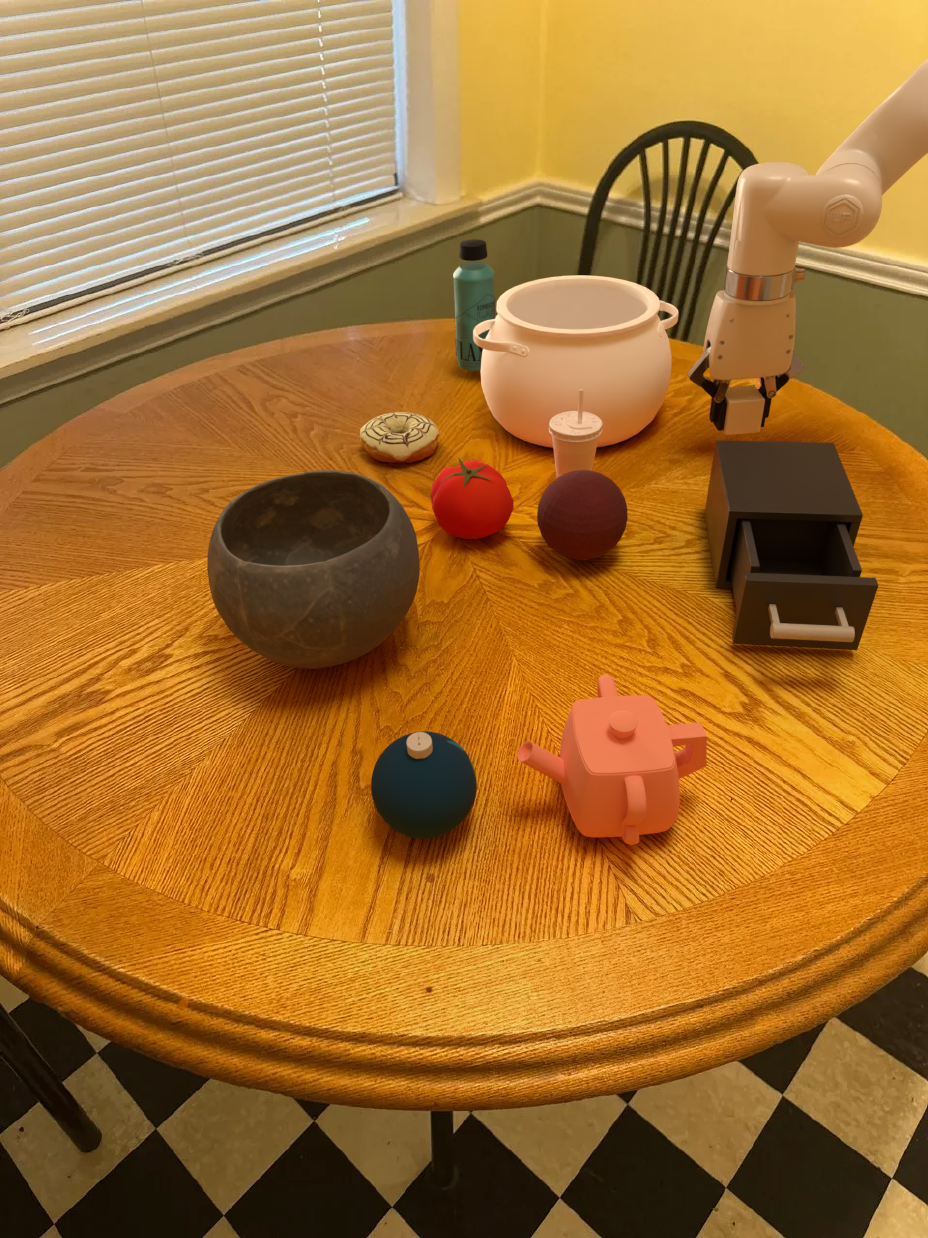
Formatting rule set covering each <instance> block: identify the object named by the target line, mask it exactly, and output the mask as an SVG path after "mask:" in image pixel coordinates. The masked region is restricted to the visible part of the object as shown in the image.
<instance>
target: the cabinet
mask: <svg viewBox="0 0 928 1238" xmlns="http://www.w3.org/2000/svg"><path fill="white" fill-rule="evenodd" d="M863 517H864V514H863V512H862V509H861V506H860V504H859V502H858V500H857V497H856V494H855V491H854V489H853V487H852V485H851V482H850V479H849V477H848V475H847V472H846V470H845V467H844V464H843V462H842V460H841V457H840V455H839V453H838V449H837V448H836V444H835V442H819V441H818V442H816V441H815V442H814V441H812V442H811V441H773V440H772V441H770V440H769V441H765V440H720V439H719V440H718V439H717V440H715V444H714V449H713V456H712V463H711V469H710V476H709V481H708V488H707V495H706V501H705V508H704V519H705V526H706V532H707V538H708V545H709V552H710V558H711V565H712V572H713V579H714V585H715V589H732V590H733V587H732V581H731V575H730V570H729V560H730V555H731V549H732V544H733V539H734V533H735V528H736V523H737V518H738V519H769V520H800V521H831V522H844V523H845V526H846V528H847V531H848V534H849V536H850V539H851V542H852V545H853V547H855V544H856V541H857V540H856V539H857V537H858V533H859V530H860V527H861V523H862V520H863Z"/></svg>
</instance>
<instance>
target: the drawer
mask: <svg viewBox="0 0 928 1238" xmlns="http://www.w3.org/2000/svg"><path fill="white" fill-rule="evenodd" d="M854 547H855V546H854ZM854 547H853V545H852V542H851V539H850V536H849V534H848V531H847V528H846V526H845V523H844V522H831V521H800V520H769V519H738V518H737V523H736V528H735V533H734V539H733V544H732V549H731V555H730V560H729V570H730V575H731V581H732V587H733V589H732V591H733V598H734V604H735V609H736V614H735V619H734V625H733V629H732V633H731V638H732V644H733V645H742V646H743V645H744V646H761V647H762V646H763V647H783V648H784V647H785V648H801V649H802V648H804V649H819V650H820V649H824V650H839V651H840V650H842V651H858V649H859V646H860V643H861V640H862V637H863V634H864V631H865V627H866V624H867V623H868V618H869V616H870V612H871V610H872V607H873V604H874V601H875V598H876V594H877V592H878V588H879V583H878V580H877V578H876V577H867V576H865V577H863V576H861V575H862V572H863V568H862V566H861V563H860V560H859V559H858V555H857V553H856V550H855V548H854Z"/></svg>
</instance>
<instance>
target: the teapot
mask: <svg viewBox="0 0 928 1238" xmlns="http://www.w3.org/2000/svg"><path fill="white" fill-rule="evenodd" d="M596 696H597V697H591V698H584V699H578V700H575V701H574V703H573V704H572V707H571V708H570V711H569V713H568V716H567V718H566V720H565V724H564V727H563V730H562V734H561V740H560V748H559V756H558V755H556V754H554V753H552V752H550V751H548V750H547V749H545V748H544V747H542V746H540V745H538V744H537V743H535V742H532V741H530V740H526V741H525V742H523V743H522V744H521V746H520V747H519V749H518V750H517V760H518V761H519V762H521V763H522V764H524V765H526V766H527V767H529V768H531V769H533V770H535V771H537V772H538V773H540V774H542V775H544V776H545V777H548V778H550V779H552V780H553V781H555V782H557V783H559V784H560V785H561V789H562V794H563V797H564V800H565V804H566V806H567V809H568V811H569V813H570V816H571V818H572V821H573V823H574V825H575V827H576V828H577V830H578V832H579V833H580V834H582V836H584V837H586V838H587V837H588V838H619V837H621V838H622V841H623V842H624V843H625V844H626V845H630V846H634V845H637V844H639V842H640V836H642V835H644V836H645V835H651V834H658V833H663V832H666V831H668V830H669V829H670V828H671V827H673V825H674V824H675V823H676V821H677V819H678V817H679V811H680V810H679V809H680V804H681V803H680V800H681V791H680V779H683V778H684V777H686V776H689V775H691V774H693V773H696V772H697V771H699V770H702V769H704V768H706V767H707V759H708V758H707V752H708V751H707V749H708V747H707V746H708V736H707V733H706V730H705V728H704V726H703V723H702V722H700V721H699V722H688V723H678V724H667V722H666V719H665V716H664V714H663V712H662V710H661V708H660V707H659V705H658V703H657V702H656V700H655V698H653V696H650V695H649V694H633V695H629V694H628V695H619V693H618V689H617V685H616V681H615V679H614V678H613V677H612V676H611V675H610V674H601V675H600V676H599V677H598V679H597V682H596ZM681 746H684V748H682V749H680V750H678V751H675V748H676V747H681Z"/></svg>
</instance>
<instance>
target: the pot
mask: <svg viewBox="0 0 928 1238" xmlns="http://www.w3.org/2000/svg"><path fill="white" fill-rule="evenodd" d="M659 311H660V312H666V313H667V314H670V315H671V317H669V318H665V319H662V320H661V319H660V316H659ZM495 312H496V313H497V314H496V315H495V319H492V320H487V321H484V322H481V323H480V324H478V325H477V326H476V327H475V328H474V330H473V340H474V342H475V343H476V345H478V346H479V347H481V348H483V351H482V360H481V371H480V384H481V385H480V386H481V389H482V392H483V396H484V399H485V401H486V404H487V407H488V409H489V411H490V413H491V414H492V416H493V418H494V419H495V420H496V421H497V422H498V424H499V425H500V426H501V427H502V428H503V429H504V430H505V431H506V432H508V433H509V434H511V435H512V436H514V437H515V438H518V439H520V440H522V441H524V442H527V443H530V444H534V445H537V446H541V447H546V448H552V449H553V440H552V435H551V434H550V432H549V427H550V420H551V419H552V418H553V417H554V416H555V415H558V414H560V413H563V412H568V411H578V396H579V389H584V391H583V412H588V413H592V414H594V415H596V416H598V417H599V418H600V419H601V420H602V433H601V435H600V436H599V437H598V443H597V448H603V447H607V446H612V445H615V444H619V443H620V442H623V441H627V440H628V439H630V438H632V437H634V436H636V435H638V434H639V433H640V432H641V431H642V430H644V429H645V428H646V427H647V426H649V424H650V423H651V422H652V421H654V419H655V417H656V415H657V414H658V412H659V411H660V409H661V407H662V406H663V404H664V402H665V399H666V398H667V395H668V391H669V388H670V381H671V375H672V363H673V362H672V359H673V358H672V350H671V344H670V339H669V337H668V333H667V331H666V330H668V329H670V328H672V327H674V326H675V325H676V324H677V323H678V322H679V310H678V308H677V307H676V306H674V305H673V304H671V303H669V302H666V301H664V300H660V298H659V297H658V296H657V294H656V293H655V292H654V291H652V290H651V289H649V288H648V287H645V286H644V285H641V284H639V283H636V282H634V281H629V280H625V279H621V278H617V277H612V276H611V277H610V276H599V275H582V274H581V275H561V276H559V275H558V276H551V277H545V278H538V279H534V280H531V281H530V280H529V281H527V282H523V283H521V284H518V285H515V286H513V287H511V288H509V289H508V290H506V291H504V292H503V293H502V294H501V295H500V296H499V297H498V298H497V300H496V305H495ZM489 329H490V331H489V333H488V335H487V336H486V338H485V339H482V338H480V337H479V336H478V335H479V334H481V333H482V332H484V331H486V330H489Z"/></svg>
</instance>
